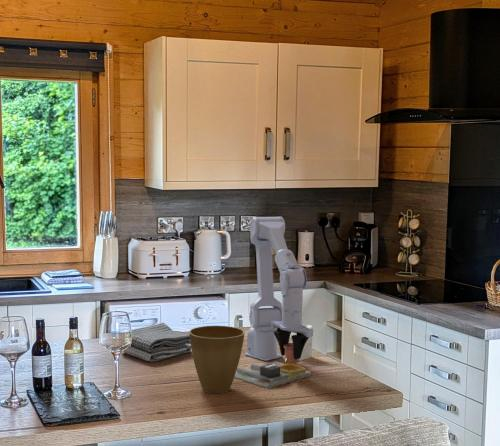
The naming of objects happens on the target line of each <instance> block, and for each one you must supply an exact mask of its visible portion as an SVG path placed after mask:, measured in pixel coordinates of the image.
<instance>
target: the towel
mask: <svg viewBox="0 0 500 446" xmlns="http://www.w3.org/2000/svg"><path fill="white" fill-rule="evenodd" d="M131 330H132V336H133V337H132V344H131V346H129V347H128V348H127V349H126V350H124V351H122V352H123V353H125V354H127V355H130V356H132V357H135V358H138V359H140V360H143V361H146V362H149V363H150V362H151V363H156V362H158V361H159V362H160V361H163V360H166V359H169V358H173V357H176V356H180V355H184V354H187V353H190V352H192V348H191V341H190V334H187V333H183V332H180V331H176V330H173V329H172V328H171V327H169V325H168V324H165V322H161V323H157V324H153V325H150V326H149V325H148V326H145V327H144V326H143V327H140V328H135V329H131Z"/></svg>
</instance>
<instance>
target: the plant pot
mask: <svg viewBox="0 0 500 446" xmlns="http://www.w3.org/2000/svg"><path fill="white" fill-rule="evenodd" d="M188 333H189V334H188V335H190V341H191V344H190V345H191V354H192V358H193V363H194V365H195V366H194V367H195V371H196V374H197V377H198V381H199V383H200V386H201V388H202V390H203V391H204V392H205V393H206V392H207V393H210V394H221V393H227V392H229V390H230V389H231V387H232V384H233V381H234V378H236V377H235V373H236V372H237V368H239V363H240V359H241V356H242V350H243V345H244V339H245V335H246V334H245V330H243V329H242V328H238V327H234V326H228V325H205V326H204V325H203V326H197V327H194V328H191V329H190V330H189V332H188Z"/></svg>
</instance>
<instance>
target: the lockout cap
mask: <svg viewBox="0 0 500 446" xmlns="http://www.w3.org/2000/svg"><path fill="white" fill-rule="evenodd" d="M283 348H285V355H284V364H294V365H296V364H299V362H300V360H299V359H294V347H293V342H289V343H286V344H284V345H283Z"/></svg>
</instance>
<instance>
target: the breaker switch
mask: <svg viewBox="0 0 500 446" xmlns="http://www.w3.org/2000/svg"><path fill="white" fill-rule="evenodd" d="M267 364H268V363H267ZM260 375H263V376H266V377H269V378H274V377H277V376H280V367H278V366H276V365H275V364H273V365H272V364H268V365H265V366H261V367H260Z"/></svg>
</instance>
